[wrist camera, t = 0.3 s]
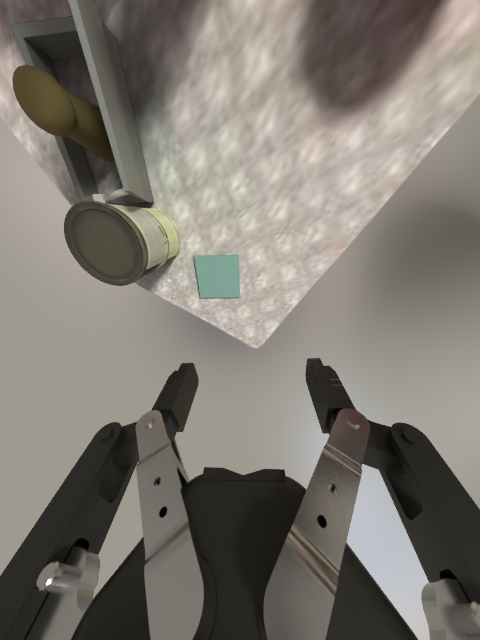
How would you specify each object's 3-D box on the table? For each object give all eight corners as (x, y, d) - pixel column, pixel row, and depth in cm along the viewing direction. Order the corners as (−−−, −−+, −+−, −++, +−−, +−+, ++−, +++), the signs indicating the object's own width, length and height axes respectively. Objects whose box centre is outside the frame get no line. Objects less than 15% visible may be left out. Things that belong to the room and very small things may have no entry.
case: (40, 49, 24) (-173, -122, 12) (146, 36, 23) (28, -166, 11) (97, 206, 33) (8, 198, 21) (175, 201, 32) (129, 191, 20)
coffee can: (167, 274, 39) (128, 299, 27) (122, 242, 36) (56, 254, 24) (191, 233, 34) (157, 240, 22) (142, 193, 32) (72, 177, 20)
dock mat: (194, 256, 37) (193, 256, 36) (238, 254, 36) (238, 255, 35) (201, 296, 41) (200, 297, 40) (239, 296, 40) (239, 297, 40)
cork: (102, 167, 30) (33, 143, 21) (77, 119, 27) (-16, 66, 18) (132, 153, 29) (73, 120, 20) (109, 101, 26) (26, 34, 17)
